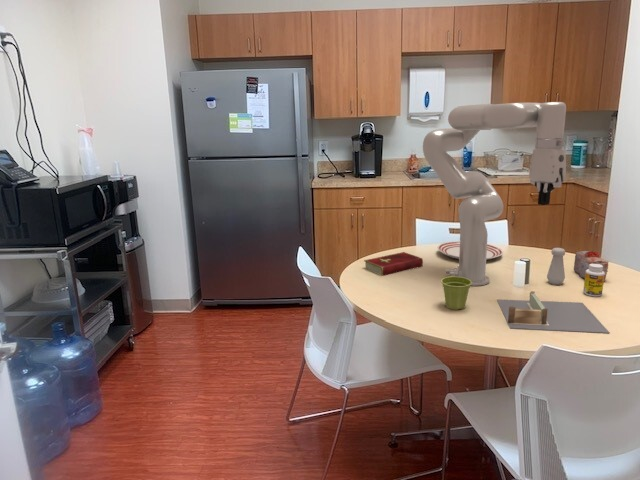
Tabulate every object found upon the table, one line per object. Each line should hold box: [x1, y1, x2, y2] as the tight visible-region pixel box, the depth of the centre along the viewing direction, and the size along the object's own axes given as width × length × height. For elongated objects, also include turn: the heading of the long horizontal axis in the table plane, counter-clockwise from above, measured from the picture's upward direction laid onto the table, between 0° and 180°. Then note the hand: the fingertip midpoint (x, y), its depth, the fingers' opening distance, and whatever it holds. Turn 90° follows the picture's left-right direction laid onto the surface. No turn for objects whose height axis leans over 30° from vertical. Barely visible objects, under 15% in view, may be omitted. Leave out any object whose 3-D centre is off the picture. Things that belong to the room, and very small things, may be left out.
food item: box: [573, 250, 609, 282], centre depth 174 cm, size 14×8×10 cm, turn 177°
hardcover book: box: [363, 251, 424, 277], centre depth 193 cm, size 12×21×4 cm, turn 120°
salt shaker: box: [546, 247, 566, 286], centre depth 168 cm, size 6×6×13 cm
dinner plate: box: [437, 240, 504, 261], centre depth 206 cm, size 28×27×3 cm
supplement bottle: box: [582, 264, 605, 298], centre depth 157 cm, size 6×6×10 cm
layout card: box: [496, 298, 610, 334], centre depth 143 cm, size 26×22×1 cm
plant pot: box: [440, 275, 472, 311], centre depth 151 cm, size 9×9×9 cm
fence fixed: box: [508, 307, 548, 324], centre depth 137 cm, size 10×2×5 cm, turn 79°
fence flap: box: [528, 291, 545, 321], centre depth 144 cm, size 14×1×4 cm, turn 169°
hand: (543, 204), depth 146 cm, fingers closed
